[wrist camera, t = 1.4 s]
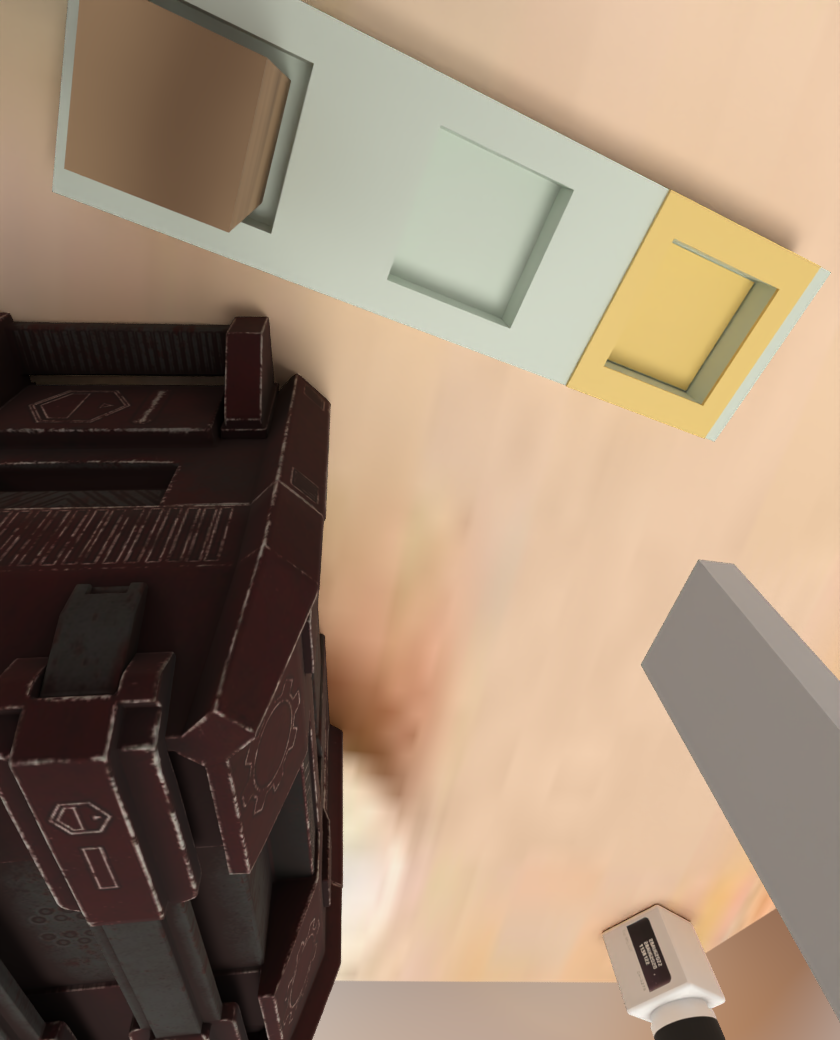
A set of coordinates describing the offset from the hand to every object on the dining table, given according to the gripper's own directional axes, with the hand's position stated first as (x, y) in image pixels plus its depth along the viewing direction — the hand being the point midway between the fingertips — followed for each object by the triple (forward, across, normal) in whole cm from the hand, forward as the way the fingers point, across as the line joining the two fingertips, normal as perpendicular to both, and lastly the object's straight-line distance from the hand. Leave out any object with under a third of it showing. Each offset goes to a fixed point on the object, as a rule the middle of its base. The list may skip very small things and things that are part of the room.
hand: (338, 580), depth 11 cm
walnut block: (+21, -6, +6) cm, 22 cm away
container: (+22, +44, -62) cm, 79 cm away
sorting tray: (+22, +5, +4) cm, 23 cm away
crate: (+22, -7, -20) cm, 31 cm away
